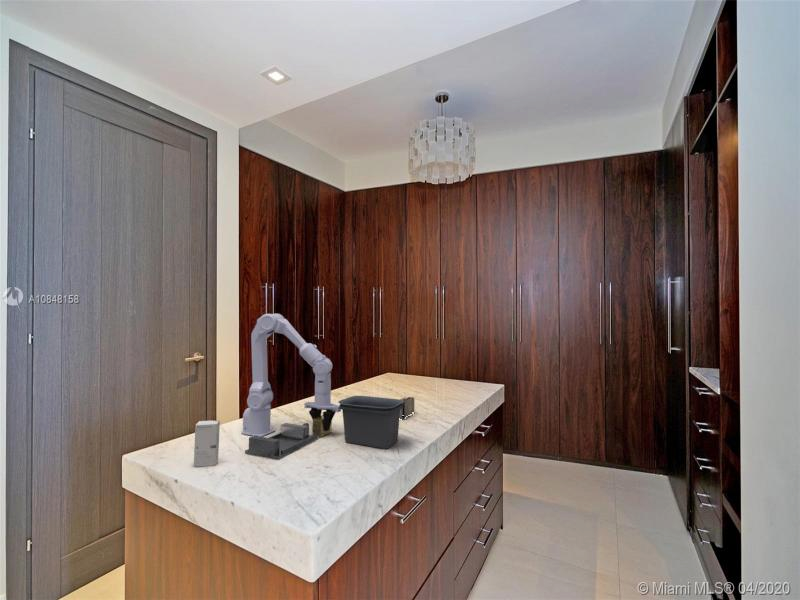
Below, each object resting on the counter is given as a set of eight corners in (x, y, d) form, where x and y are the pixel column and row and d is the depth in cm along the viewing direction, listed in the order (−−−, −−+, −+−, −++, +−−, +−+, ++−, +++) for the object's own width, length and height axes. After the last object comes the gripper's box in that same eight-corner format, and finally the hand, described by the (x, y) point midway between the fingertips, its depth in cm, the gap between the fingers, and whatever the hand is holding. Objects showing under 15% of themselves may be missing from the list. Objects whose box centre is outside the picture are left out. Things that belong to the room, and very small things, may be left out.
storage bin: (333, 444, 136) (334, 401, 137) (357, 431, 150) (357, 393, 151) (389, 454, 127) (390, 408, 128) (409, 439, 142) (409, 398, 142)
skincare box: (193, 467, 116) (193, 425, 116) (197, 461, 120) (198, 420, 120) (216, 465, 117) (216, 423, 117) (219, 459, 122) (220, 419, 122)
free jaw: (280, 436, 140) (280, 424, 140) (295, 429, 148) (295, 418, 148) (304, 440, 136) (304, 428, 136) (318, 433, 144) (318, 422, 144)
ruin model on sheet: (403, 421, 165) (403, 398, 165) (396, 420, 166) (396, 397, 167) (415, 415, 175) (415, 392, 175) (409, 414, 176) (409, 392, 176)
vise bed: (244, 453, 127) (245, 437, 127) (287, 434, 146) (287, 420, 146) (278, 460, 122) (278, 442, 122) (317, 439, 141) (318, 424, 141)
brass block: (312, 435, 144) (312, 419, 144) (323, 430, 150) (323, 414, 150) (320, 437, 142) (321, 420, 142) (331, 431, 149) (331, 415, 149)
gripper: (345, 391, 147) (345, 429, 147) (312, 388, 153) (312, 424, 153) (335, 395, 141) (334, 434, 141) (301, 392, 146) (300, 429, 146)
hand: (322, 429), depth 146 cm, fingers closed on brass block, 3 cm apart
